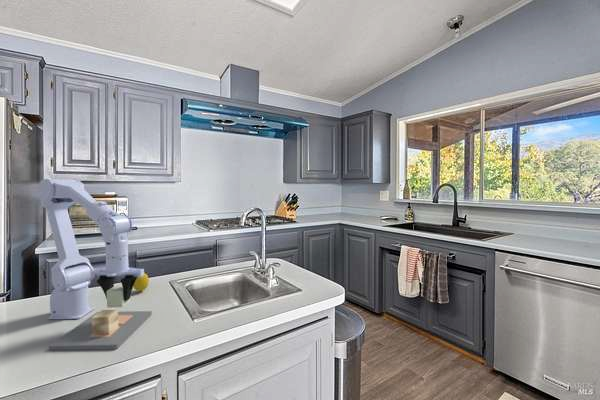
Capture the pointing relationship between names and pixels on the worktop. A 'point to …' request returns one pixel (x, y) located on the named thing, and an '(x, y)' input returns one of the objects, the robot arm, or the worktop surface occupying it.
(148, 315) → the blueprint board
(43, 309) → the worktop surface
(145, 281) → the lemon
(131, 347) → the worktop surface
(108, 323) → the maple block
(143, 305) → the worktop surface
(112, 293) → the sage block
